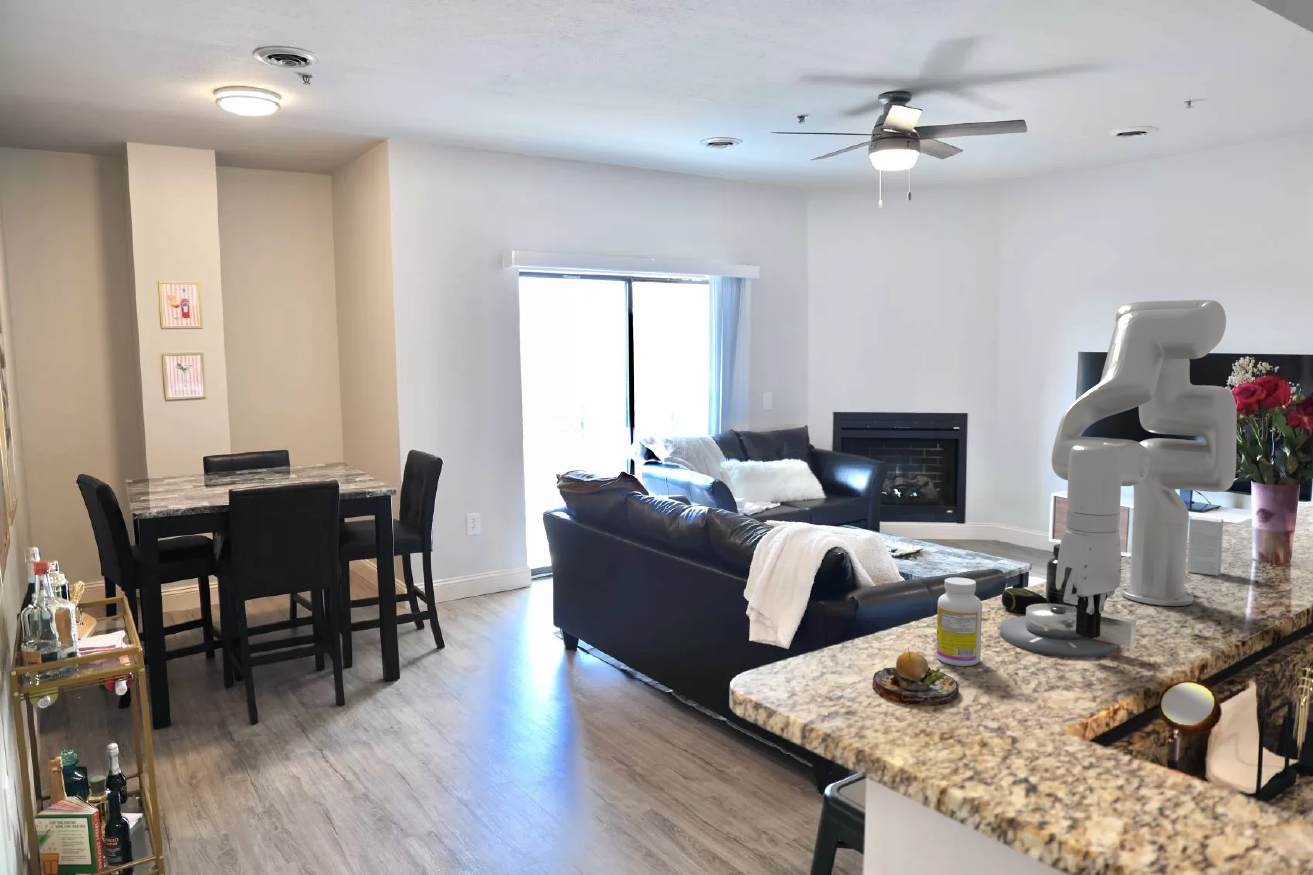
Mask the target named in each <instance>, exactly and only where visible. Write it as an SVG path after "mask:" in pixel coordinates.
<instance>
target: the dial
mask: <svg viewBox="0 0 1313 875" xmlns="http://www.w3.org/2000/svg"><path fill="white" fill-rule="evenodd" d="M1076 613H1077V610H1075V609H1074V607H1072V606H1067V605H1060V604H1033V605H1030V606H1028V607H1027V608H1026V612H1025V616H1026V628H1027V629H1028V630H1030V631H1032V632H1034V633H1037V634H1040V635H1044V636H1049V637H1055V638H1066V639H1075V638H1083V637H1085V636H1082V635H1079V634H1077V633H1076ZM1099 613H1101V626H1100V636H1099V637H1095V638H1092V639H1097V640H1101V641H1105V642H1110V643H1114V644H1117V645H1120V646H1123V647H1128V648H1131V647H1133V646H1135V645H1136V635H1137V634H1136V632H1137V619H1132V618H1128V617H1124V616H1119V615H1113V614H1109V613H1105V612H1104V613H1103V612H1099Z"/></svg>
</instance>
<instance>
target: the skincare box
mask: <svg viewBox="0 0 1313 875" xmlns="http://www.w3.org/2000/svg"><path fill="white" fill-rule="evenodd" d="M1223 529H1224V519H1223V518H1212V517H1204V516H1203V517H1202V516H1192V517H1191V518H1189V526H1188V548H1187V550H1188V552H1187V553H1188V554H1187V573H1193V574H1194V573H1195V574H1201V575H1209V576H1215V577H1216V576H1218V577H1219V576H1220V574H1221V572H1222V555H1223V554H1222V551H1223V537H1224V536H1223V535H1224V534H1223V531H1224V530H1223Z"/></svg>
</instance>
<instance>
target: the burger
mask: <svg viewBox="0 0 1313 875" xmlns="http://www.w3.org/2000/svg"><path fill="white" fill-rule="evenodd" d="M907 647H908V648H907V650H908V651H906V652H903V653H902V654H900V655H899V656H898V658H897V659H896V663H895V667H894V666H893V667H883V669H881V670H878V671H877V672H874V674H873V676H872V686H873V687H872V690H875V691H877V692H879V695H880V697H881V698H882V697H883V698H884V699H887V700H889V699H891V700H893V702H894V703H899V704H902V705H908V706H916V707H917V706H919V707H938V706H945V705H947V704H948V705H949V704H951V703H954V702H955V701H956V700H957V699H958V698H959V691H960V690H959V686H960V685H959V683H958V681H957V680H956V679H954V678H953V677H951V676H950V675H949V674H946V673H944V672H941V671H940V668H937V669H936V670H935V669H931V667H930V666H929V662H928V660H927V659H926V658H925V656H923V655H922V654H920V653H918V652H915V651H910V649H909V648H910V647H909V646H907ZM907 703H908V704H907Z"/></svg>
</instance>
